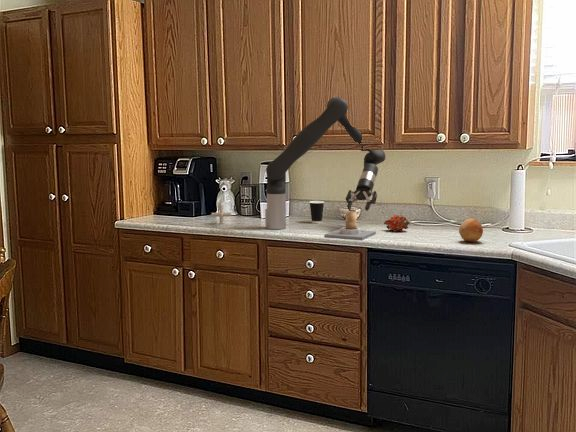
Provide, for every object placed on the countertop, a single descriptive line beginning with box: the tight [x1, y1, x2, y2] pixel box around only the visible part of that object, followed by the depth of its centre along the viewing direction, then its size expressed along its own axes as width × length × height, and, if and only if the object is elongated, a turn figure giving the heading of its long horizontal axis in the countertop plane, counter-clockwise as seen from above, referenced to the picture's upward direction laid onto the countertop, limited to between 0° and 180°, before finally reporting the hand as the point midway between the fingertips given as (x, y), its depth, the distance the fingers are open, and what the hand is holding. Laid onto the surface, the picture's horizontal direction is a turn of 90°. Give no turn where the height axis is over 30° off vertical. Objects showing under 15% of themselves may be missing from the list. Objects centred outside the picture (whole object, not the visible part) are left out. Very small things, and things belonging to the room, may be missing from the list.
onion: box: [458, 217, 484, 243], centre depth 254 cm, size 10×10×10 cm
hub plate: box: [324, 226, 377, 241], centre depth 273 cm, size 18×18×3 cm
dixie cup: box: [309, 200, 325, 224], centre depth 314 cm, size 8×8×11 cm
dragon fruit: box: [383, 214, 410, 232], centre depth 285 cm, size 8×8×12 cm
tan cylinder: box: [345, 209, 357, 230], centre depth 273 cm, size 5×5×10 cm
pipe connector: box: [211, 204, 232, 225], centre depth 312 cm, size 10×10×10 cm
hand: (357, 209), depth 279 cm, fingers open, 8 cm apart
